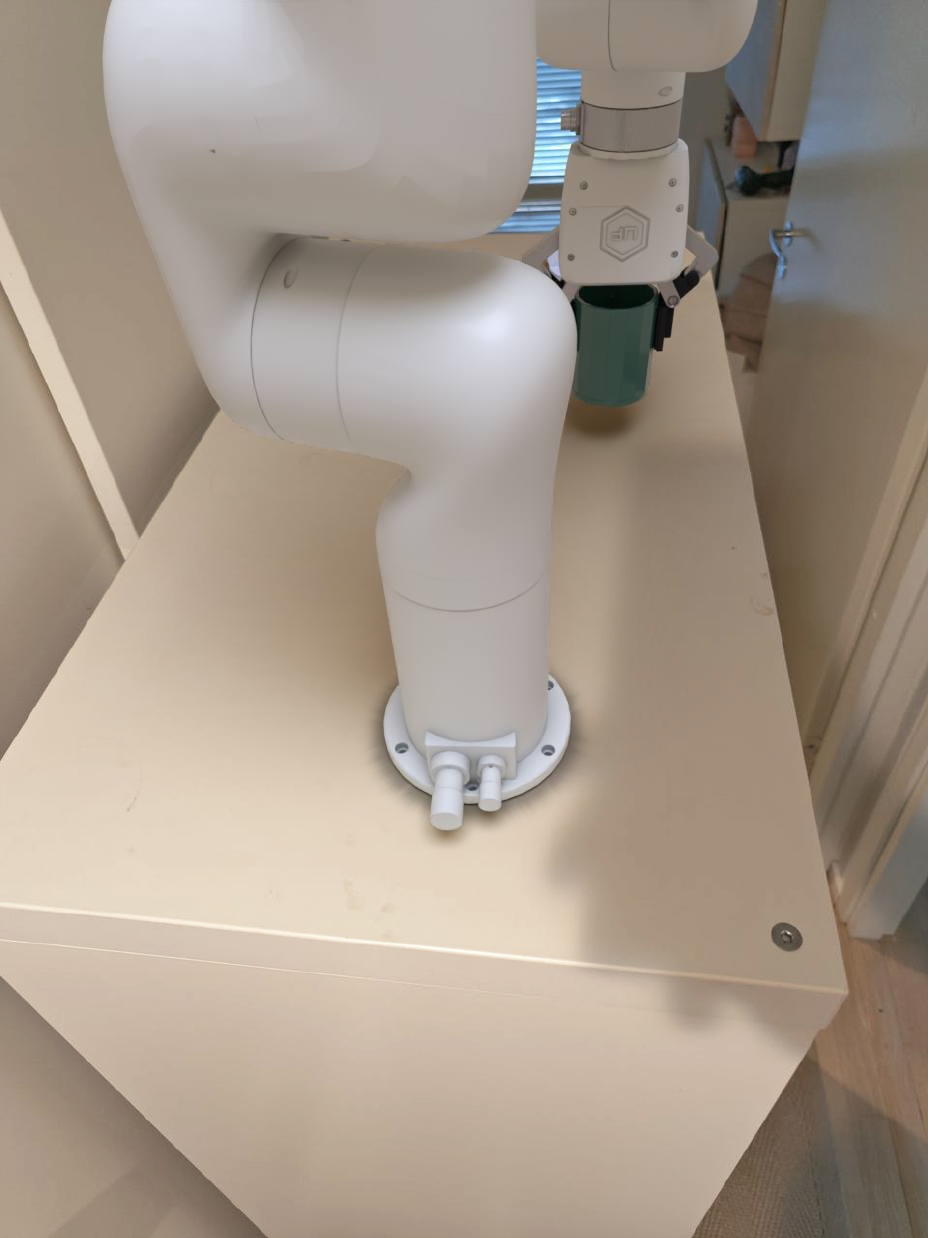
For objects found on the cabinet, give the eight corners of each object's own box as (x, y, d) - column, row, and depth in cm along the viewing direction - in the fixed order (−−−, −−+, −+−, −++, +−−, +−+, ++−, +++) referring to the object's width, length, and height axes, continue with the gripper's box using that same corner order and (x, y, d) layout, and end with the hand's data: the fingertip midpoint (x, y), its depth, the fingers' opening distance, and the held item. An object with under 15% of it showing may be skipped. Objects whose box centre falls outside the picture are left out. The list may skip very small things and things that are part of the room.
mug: (651, 406, 76) (663, 309, 70) (571, 407, 77) (575, 311, 71) (641, 354, 84) (651, 262, 78) (568, 355, 84) (571, 263, 78)
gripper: (513, 143, 62) (515, 367, 74) (755, 134, 61) (717, 363, 73) (515, 116, 68) (516, 329, 80) (737, 107, 66) (704, 325, 78)
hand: (612, 344), depth 76 cm, fingers closed on mug, 7 cm apart
